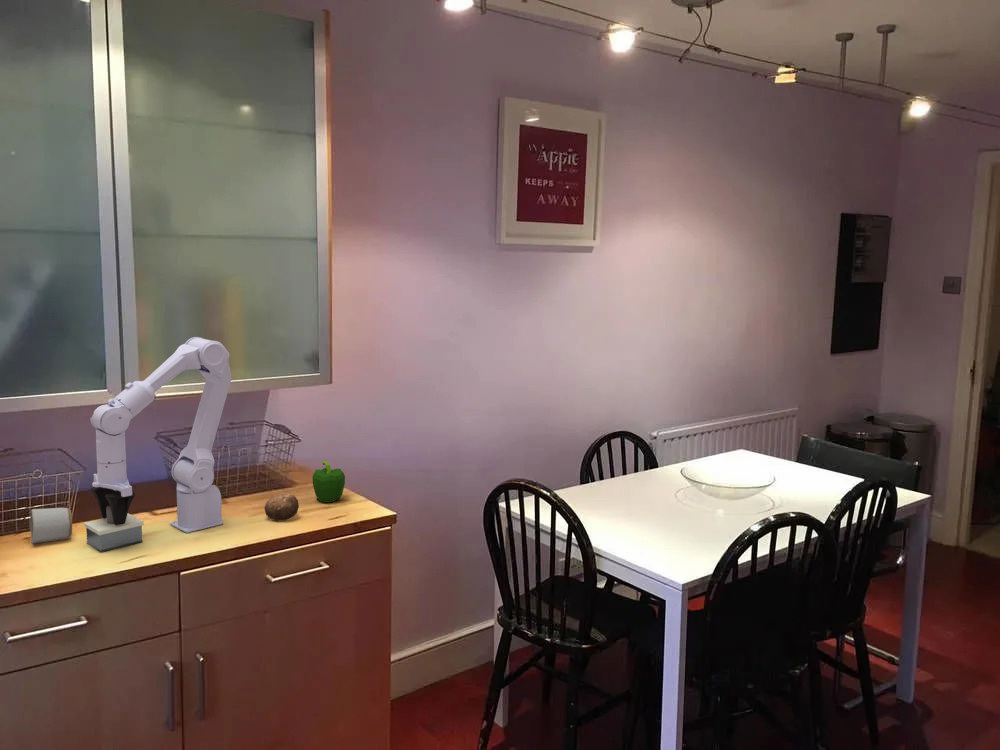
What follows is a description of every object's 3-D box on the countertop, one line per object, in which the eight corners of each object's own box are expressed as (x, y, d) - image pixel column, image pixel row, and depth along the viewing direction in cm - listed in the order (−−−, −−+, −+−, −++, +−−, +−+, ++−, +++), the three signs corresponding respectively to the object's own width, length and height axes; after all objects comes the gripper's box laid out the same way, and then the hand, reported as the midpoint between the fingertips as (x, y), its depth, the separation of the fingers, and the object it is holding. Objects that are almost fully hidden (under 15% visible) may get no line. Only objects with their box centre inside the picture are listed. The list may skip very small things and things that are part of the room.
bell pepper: (347, 503, 216) (348, 466, 214) (315, 506, 213) (315, 468, 211) (341, 494, 224) (341, 457, 222) (310, 496, 220) (310, 459, 219)
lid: (128, 516, 188) (127, 498, 188) (143, 524, 183) (143, 506, 183) (84, 526, 181) (83, 507, 181) (99, 535, 176) (98, 515, 176)
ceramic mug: (74, 541, 183) (72, 509, 182) (33, 548, 178) (31, 514, 177) (67, 528, 191) (66, 497, 190) (28, 534, 187) (26, 502, 186)
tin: (128, 534, 189) (127, 517, 188) (142, 542, 184) (141, 524, 183) (87, 543, 182) (86, 526, 181) (100, 552, 177) (100, 534, 177)
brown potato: (285, 496, 209) (282, 481, 205) (307, 514, 206) (304, 499, 201) (260, 517, 205) (256, 502, 200) (282, 535, 201) (278, 520, 197)
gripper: (78, 456, 182) (81, 516, 184) (107, 470, 172) (109, 533, 174) (111, 451, 187) (113, 509, 189) (140, 464, 177) (143, 525, 180)
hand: (113, 520), depth 182 cm, fingers open, 5 cm apart
